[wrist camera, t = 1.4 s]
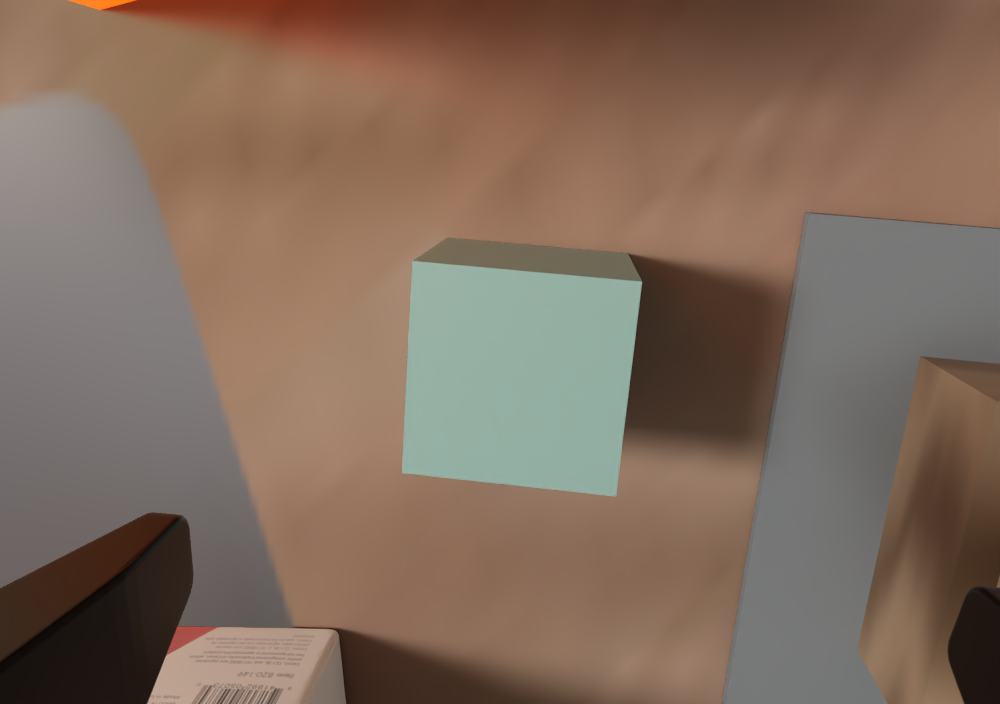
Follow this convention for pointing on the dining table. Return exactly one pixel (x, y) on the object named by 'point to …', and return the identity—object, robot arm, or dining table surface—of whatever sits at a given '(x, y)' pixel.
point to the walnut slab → (935, 530)
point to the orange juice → (101, 3)
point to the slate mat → (847, 439)
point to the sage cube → (520, 364)
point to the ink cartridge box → (251, 667)
